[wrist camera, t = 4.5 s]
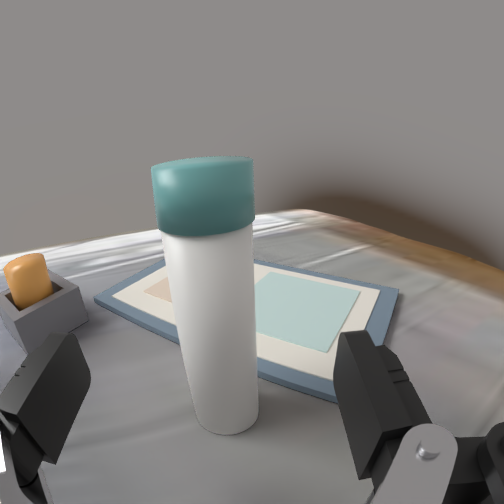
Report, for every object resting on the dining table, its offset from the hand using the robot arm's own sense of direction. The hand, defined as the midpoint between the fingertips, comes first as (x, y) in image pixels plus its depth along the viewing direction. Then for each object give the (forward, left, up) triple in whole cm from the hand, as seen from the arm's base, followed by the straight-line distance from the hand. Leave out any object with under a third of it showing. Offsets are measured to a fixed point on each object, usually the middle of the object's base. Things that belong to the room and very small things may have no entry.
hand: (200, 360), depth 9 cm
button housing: (-19, +1, -7) cm, 20 cm away
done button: (-19, +1, -5) cm, 20 cm away
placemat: (-7, +13, -7) cm, 16 cm away
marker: (-2, +3, -7) cm, 8 cm away
